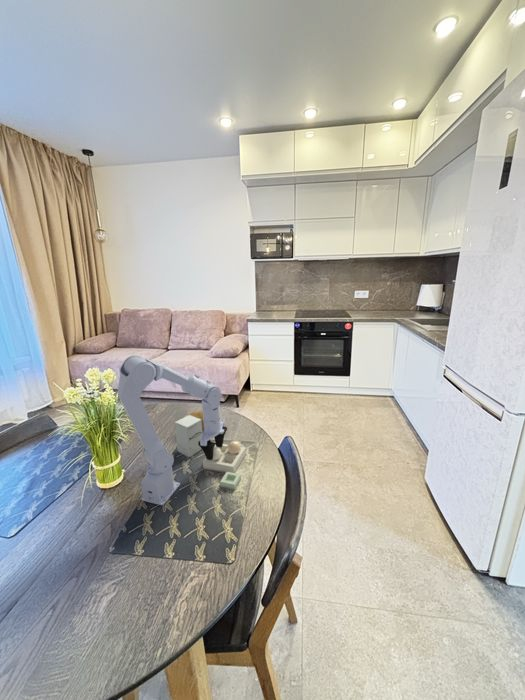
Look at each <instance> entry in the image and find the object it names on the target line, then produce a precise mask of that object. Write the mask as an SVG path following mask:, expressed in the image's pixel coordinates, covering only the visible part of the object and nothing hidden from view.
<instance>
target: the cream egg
mask: <svg viewBox="0 0 525 700" xmlns="http://www.w3.org/2000/svg"><path fill="white" fill-rule="evenodd" d="M221 455H222V452H221V450H220V448H218V447H214V451H213V459H212V461H217V460H219V459H220V458H221Z"/></svg>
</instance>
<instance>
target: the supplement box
mask: <svg viewBox="0 0 525 700" xmlns="http://www.w3.org/2000/svg"><path fill="white" fill-rule="evenodd" d="M173 423H174V431H175V440H176V449H177V452H178V453H180V454H183V456H186V457H188V458H191V457H192V456H194V455H195V454H197V453H198V452H199V451H201V450H202V449H201V447H200V446H199V445H198V442H199V441H200V440H201V438H202V435H203V431H202V422H201V419H199V418H196V417H193V416H191V415H189V414H187V415H186V416H184V417H182V418H180V419H179V420H178V419H177V420H176V421H174V422H173Z"/></svg>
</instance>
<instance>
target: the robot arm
mask: <svg viewBox="0 0 525 700" xmlns="http://www.w3.org/2000/svg"><path fill="white" fill-rule="evenodd" d="M118 372H119V379H118V380H119V381H118V387H117V393H116V394H117V397H118V399H119V400H120V403H121V404H122V407H123V409H124V410H125V412H126V414H127V417H128V419H129V421H130V423H131V424H132V426H133V428H134V430H135V433H136V434H137V437H138V438H139V440H140V442H141V446H142V456H143V458H144V459H145V460H146V461H147V464H146V473H145V475H144V477H143V478H142V479H141V482H140V489H141V493H142V497H141V498H140V500H141V501H142V502H147V503H151V504H155V505H159V506H164V505H165V504H166V502H167V501H168V500H169V499H170V498H171V497H172V495H173V494H174V493H175V492H176V491H177V489H178V488H179V487H180V486H181V483H180V482H178V481H175V480H174V473H173V465H174V461H175V457H174V455H173V454H172V453H171V452H170V451H168V449H167V448H166V447H165V445H164V444H163V442H162V440H161V439H160V437H159V435H158V432H157V431H156V429H155V426H154V424H153V422H152V420H151V418H150V416H149V414H148V411H147V409H146V407H145V405H144V403H143V400H142V399H141V394H142V392H143V391H144V390H145V389H146V388H147V387H148V386H150V384H151V383H152V382H153V381H155V382H157V381H158V382H159V380H161V379H163V380H167V381H169V382H171V383H174V384H177V385H179V386H181V389H182V391H183V392H184V393H187V394H189V395H191V396H194V397H196V398H198V399H201V408H202V411H203V420H204V431H202V433H203V435H202V438H201V440H200V441H199V442H198V445H199V446H200V447H201V450H202V451H203V454H204V456H205V458H206V459H207V460H212V459H213V451H214V446H215V445H216V447H221V448H222V446H223V444H224V439H225V435H226V432H227V431H228V427H227V426H225V419H221V407H220V405H221V400H222V397H223V392H221V389H220V387H218V386H216V385H214V384H212V383H211V381H209V380H204V379H202V378H200V375H197V374H196V373H195V374H188V375H183V374H182V373H180V372H178V371H176V370H174V369H172V368H170V367H168V366H167V365H165V364H162V363H161V362H157V361H154V360H151V359H148V358H143V357H141V356H139V355H137V354H135V355H130V356H128V357H126V359H124V361H123V363H122V364H121V366H120V367H119V371H118ZM213 438H214V442H213V441H212V440H211V439H213Z"/></svg>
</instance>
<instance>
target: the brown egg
mask: <svg viewBox="0 0 525 700" xmlns="http://www.w3.org/2000/svg"><path fill="white" fill-rule="evenodd" d="M227 445H228V452H229V453H230V454H234V455H236V454H238V453H239V452H240V450H241V447H242V445H241V444H240V442H239V441H237V440H233V441H232V440H231V441H230V442H229V443H228V444H227Z"/></svg>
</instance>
